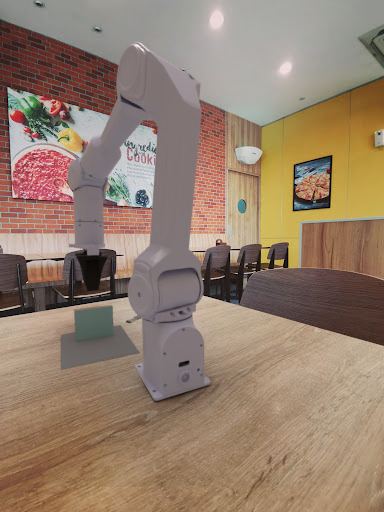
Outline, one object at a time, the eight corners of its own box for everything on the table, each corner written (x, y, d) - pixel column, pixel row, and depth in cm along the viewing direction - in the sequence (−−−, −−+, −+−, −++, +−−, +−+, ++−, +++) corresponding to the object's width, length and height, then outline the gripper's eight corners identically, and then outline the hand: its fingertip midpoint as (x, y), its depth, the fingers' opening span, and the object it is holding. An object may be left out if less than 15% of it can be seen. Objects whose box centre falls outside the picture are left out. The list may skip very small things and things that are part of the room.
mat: (139, 355, 44) (139, 352, 44) (61, 372, 38) (60, 369, 38) (120, 326, 58) (120, 325, 58) (60, 336, 53) (60, 334, 52)
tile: (113, 335, 52) (112, 305, 51) (75, 341, 49) (74, 310, 48) (112, 333, 53) (111, 304, 52) (75, 339, 50) (74, 309, 49)
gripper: (67, 223, 58) (69, 282, 59) (68, 220, 45) (70, 296, 46) (100, 224, 61) (101, 280, 62) (109, 221, 48) (111, 292, 50)
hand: (91, 286), depth 55 cm, fingers open, 7 cm apart
